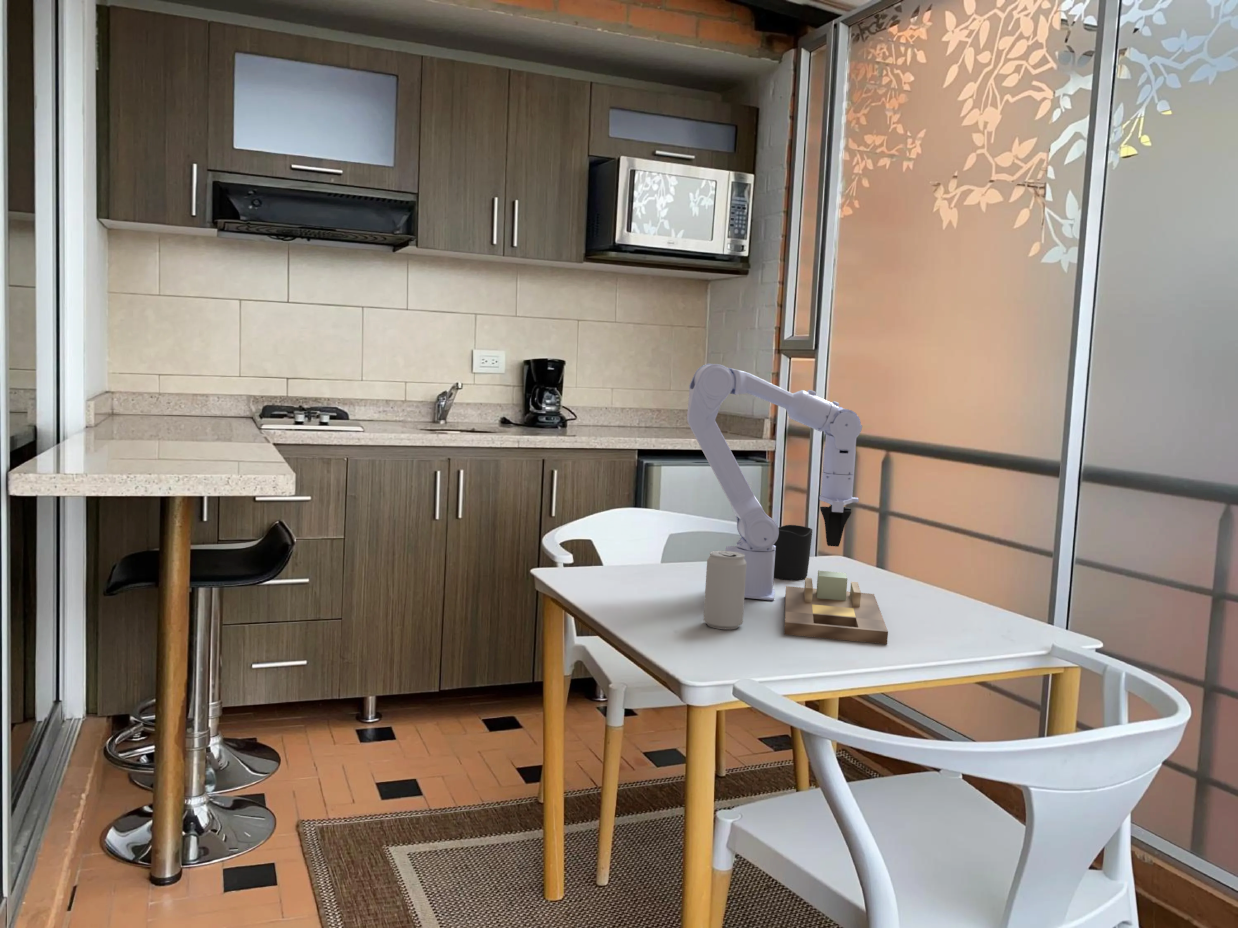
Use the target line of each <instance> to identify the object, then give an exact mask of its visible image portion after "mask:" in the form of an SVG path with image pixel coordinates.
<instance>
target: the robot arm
mask: <svg viewBox="0 0 1238 928" xmlns="http://www.w3.org/2000/svg"><path fill="white" fill-rule="evenodd" d="M730 394H731V395H737V396H738V395H745V394H748V395H750V396H752V397H755V398H758V399H761V400H763V401H766V402H768V403H769V404H770V403H771V404H773V405H775V406H778V407H781V408H783V409H785V411H786V413H787V416H788V418H789V419H790V420H792V421H795V422H797V423H799V424H801V425H804V426H806V427H809V428H811V429H813V430H816V431H817V432H820V433H821V432H823V433H824V434H825V443H824V449H823V459H822V461H823V463H822V476H821V487H820V495H819V500H820V501H821V502H824V503H827V504H829V506H820V507H819V510H820V512H821V515H822V517H823V520H824V521H823V522H824V528H825V541H826V545H827V546H828V547H835V548H837V547H840V544H841V542H842V541H841V540H842V538H843V537H842V536H843V533H844V529H845V526H846V524H847V521H848V520H849V518H850V516H851V514H852V508H851V507H849V506H846V505H850V504H853V503H859V501H860V499H859V497H857V496H856V497H855V496H854V497H853V491H854V481H855V468H856V466H855V465H856V454H857V453H856V452H857V450H856V449H857V448H856V447H857V438H858V437H859V435H860V434H861V432H862V429H863V425H862V424H861V418H860V416H858V414H857V413H856V412H855V411H853V410H852V409H849V408H848V409H847V408H844V407H842V406H840V402H837V401H836V400H833V401H832V402H831V401H829V400H826V399H825V398H823V397H820V396H818V395H816V394H817V392H816V391H815V390H811V389H808V390H807V391H806V390H804V389H800V390H798V391H795V392H793V393H792V392H791V391H788V390H786V389H784V388H782V387H780V386H778V385H775V384H774V383H771V382H769V381H768V380H765V379H763V378H760V377H758V376H757V375H754V374H752V373H750V372H746V371H743V370H739V369H736V368H731V367H727V366H725V365H723V364H719V363H706V364H704V365H701V366H700V367H698V368H697V370H695V372H694V374H693V377H692V378H691V380H690V383H689V385H688V401H687V402H688V403H687V413H686V414H687V415H686V421H687V424H688V427H689V428H690V430H691V432H692V434H693V435H694V438H695V439H696V441H697V443H698V445H699V447H700V449H701V451H702V452H703V454H704V456H705V458H706V460H707V462H708V464H709V466H710V468H711V470H712V472H713V473H714V475H715V477H716V479H717V481H718V483H719V484H720V487H721V488H722V491H723V492H724V494H725V496H726V498H727V500H728V502H729V504H730V506H731V509H732V512H733V514H734V515H735V518H736V529H737V533H738V534H739V535H740V538H739V539H738V541H736V545H733V546H732V545H726V547H725V551H733V552H739V553H742V554H744V555H745V557H744V559H745V561H746V563H747V564H746V579H745V594H744V599H755V600H763V601H764V600H765V601H774V600H775V594H776V590H775V589H774V579H775V578H774V564H775V549H776V546H774V544H775V542H776V541H777V539H778V535H779V529H778V528H779V525H778V524H777V522H776V521H775V520H774V519H773V518H772V517H770V516H769V515H768V514H767V513H766V512H765V510H764V508H763V506H762V504H761V503H760V502H759V500H758V499H757V497H756V496H755V493H754V491H752V488H751V486H750V484H749V483H748V480H747V479H746V477H745V475H744V473H743V471H742V469H741V467H740V465H739V463H738V462H737V460H736V457H735V456H734V454H733V452H732V450H731V448H730V446H729V444H728V443H727V442H728V441H726V438H725V437H724V435H723V433H722V430H721V429H720V427H719V424H718V423H717V421H716V419H717V416H718V413H719V412H720V409H721V406H722V403H724V401H725V400H726V399H727V398H728V396H729V395H730Z"/></svg>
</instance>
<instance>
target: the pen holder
mask: <svg viewBox="0 0 1238 928" xmlns="http://www.w3.org/2000/svg"><path fill="white" fill-rule="evenodd" d="M778 529H779V535H778V539H777V541H776V542H775V544H774V546H776V549H775V564H774V578H773V579H778V580H785V581H791V580H792V581H799V580H805V578H808V571H809V563H810V556H811V547H812V538H813V537H812V536H813V529H812V528H811V527H808V526H802V525H796V524H784V525H782V526H780V527H779V526H778Z"/></svg>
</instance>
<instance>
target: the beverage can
mask: <svg viewBox="0 0 1238 928" xmlns="http://www.w3.org/2000/svg"><path fill="white" fill-rule="evenodd" d="M744 557H745V555H744V554H742V553H739V552H733V551H726V550H713V551H709V557H708V558H707V560H706V572H705V573H706V574H705V575H706V576H705V590H704V602H703V603H704V604H703V606H704V607H703V622H705V624H707V626H708V627H710V628H714V629H718V630H724V631H725V630H735V629H738V628H739V626H742V624H743V622H744V620H743V619H744V608H745V607H744V604H745V598H744V594H745V579H746V564H747V563H746V561H745V559H744Z"/></svg>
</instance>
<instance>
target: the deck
mask: <svg viewBox="0 0 1238 928" xmlns="http://www.w3.org/2000/svg"><path fill="white" fill-rule="evenodd" d="M859 585H860V584H859V582H858V581H850V589H849V590H848V591H847V592H846V601H845V600H833V599H822V598H817V593H816V591H817V588H814V586H813V578H811V577H806V578H805V579H804V586H803V587H800V586H799V587H798V586H789V585H786V586H785V596H784V597H785V598H784V599H785V601H784V631H783V632H784V635H786V636H787V635H788V636H796V637H797V636H798V637H808V638H818V639H827V640H828V639H831V640H838V641H847V642H848V641H850V642H860V643H872V644H880V645H888V638H889V637H888V636H889V631H888V628H887V627H888V626H887V625H886V622H885V620H884V617H883V615H882V612H881V611H882V610H881V609H880V607H879V604H878V600H877V598H876V595H875V593H866V592H861V588H860V586H859Z"/></svg>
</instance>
